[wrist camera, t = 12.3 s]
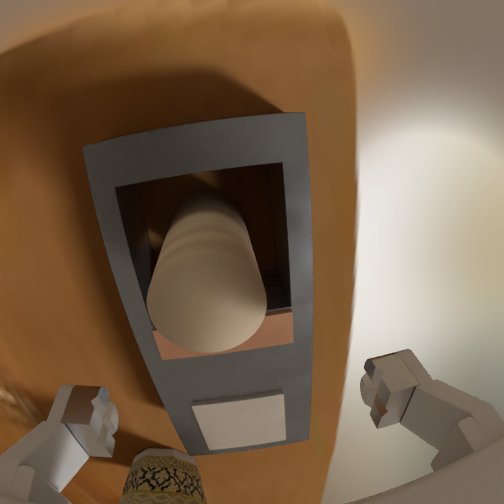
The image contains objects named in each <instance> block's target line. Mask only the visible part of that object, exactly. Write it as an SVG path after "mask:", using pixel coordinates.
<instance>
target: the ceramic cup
mask: <svg viewBox="0 0 504 504" xmlns="http://www.w3.org/2000/svg"><path fill="white" fill-rule="evenodd" d="M118 504H207V503H206V499H205V495H204V491H203V487H202V483H201V478H200V475H199V470H198V467H197V464H196V461H195V459H194V457H193V456H189V455H188V454H186V453H183V452H181V451H178V450H176V449H157V448H148V449H146V450H145V451H143V452H141V453H140V454H138V455H136V457H134V460H133V462H132V465H131V468H130V471H129V474H128V477H127V480H126V483H125V486H124V489H123V492H122V496H121V499H120V501H119V503H118Z"/></svg>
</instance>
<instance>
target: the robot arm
mask: <svg viewBox="0 0 504 504" xmlns="http://www.w3.org/2000/svg"><path fill="white" fill-rule="evenodd" d="M364 369H365V371H366V373H365V375H363V377H362V378H361V383H360V389H361V395H362V399H363V401H364V403H365V404H366V405H368V406H369V407H371V408H372V409H371V412H370V415H371V417H372V419H373V422H374V424H375V426H376V428H377V429H378V428H382V427H386V426H389V425H393V424H396V423H399V422H400V424H401V425H403V426H404V427H406V428H407V429H409V430H410V431H411V432H413V433H414V434H416V435H417V436H419V437H420V438H421V439H423V440H424V441H426V442H427V443H429V444H430V445H432V446H433V447H435V448H436V449H438V450H439V452H438V454H437V455H436V456H435V458H434V459H433V460H432V462H431V466H432V468H433V470H434V472H432V473H430V474H428V475H426V476H423V477H421V478H419V479H416V480H414V481H411V482H409V483H406V484H404V485H401V486H398V487H396V488H393V489H390V490H388V491H385V492H382V493H379V494H376V495H373V496H370V497H367V498H363V499H360V500H357V501H354V502H350V503H346V504H504V421H503V420H502V418H501V417H500V415H499V414H498V413H497V411H496V410H495V409H494V407H493V406H492V405H491V404H490V403H487V402H485V401H483V400H480V399H478V398H476V397H474V396H472V395H470V394H467V393H465V392H463V391H460V390H459V389H456V388H454V387H452V386H450V385H448V384H446V383H443V382H441V381H439V380H432V378H431V377H430V375H429V374H428V372H427V371H426V370H425V368H424V367H423V366H422V364H421V363H420V362H419V360H418V359H417V357H416V356H415V355H414V353H413V352H412V351H411V350H409V349H406V350H402V351H398V352H395V353H390V354H387V355H383V356H378V357H374V358H370V359H367V361H366V362H365V365H364ZM108 397H109V393H108V391H107V389H106V388H105V387H100V386H83V385H66V384H63V385H62V386H60V388H59V390H58V393H57V395H56V398H55V400H54V403H53V405H52V408H51V410H50V413H49V416H48V418H47V421H42V422H41V423H40V424H38V425H37V426H36V427H35V428H34V429H32V430H31V431H30V432H29V433H27V434H26V435H25V436H24V437H23V438H21V439H20V440H19V441H18V442H17V443H15V444H14V445H13V446H12V447H10V448H9V449H8V450H7V451H6V452H4V453H3V454H2V455H1V456H0V504H71V502H70V501H69V500H68V499H67V498H65V497H64V496H63V495H62V494H61V493H60V492H61V491H62V490H63V488H64V487H65V486H66V485H67V484H68V482H69V481H70V480H71V479H72V478H73V476H74V475H75V474H76V473H77V472H78V470H79V469H80V468H81V467H82V466H83V464H84V463H85V462H86V461H87V459H88V458H89V456H97V457H112V456H113V451H114V445H115V440H114V438H113V437H112V435H113V434H114V433H115V432H116V431H117V429H118V413H117V409H116V407H115V405H114V403H113V402H111V401H110V400H108Z"/></svg>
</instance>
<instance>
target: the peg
mask: <svg viewBox="0 0 504 504" xmlns="http://www.w3.org/2000/svg"><path fill="white" fill-rule="evenodd" d="M266 308H267V297H266V292H265V288H264V285H263V282H262V278H261V275H260V272H259V268H258V265H257V262H256V258H255V255H254V252H253V248H252V245H251V242H250V238H249V235H248V231H247V228H246V225H245V221H244V218H243V215H242V212H241V210H240V208H239V206H238V205H237V204H236V203H235V202H234V201H233V200H232V199H231V198H230V197H228V196H227V195H225V194H223V193H220V192H217V191H199V192H196V193H193V194H191V195H189V196H188V197H186V198H185V199H184V200H183V201H182V202H181V203H180V204H179V205H178V206H177V208H176V210H175V212H174V215H173V217H172V220H171V223H170V226H169V229H168V231H167V234H166V237H165V240H164V243H163V246H162V249H161V252H160V255H159V258H158V261H157V264H156V267H155V270H154V273H153V276H152V280H151V283H150V286H149V289H148V294H147V309H148V313H149V317H150V319H151V321H152V323H153V325H154V326H155V328H156V329H157V330H158V331H159V333H160V334H161V335H162V336H164V337H165V338H166V339H167V340H169V341H170V342H171V343H173V344H175V345H177V346H179V347H181V348H184V349H187V350H190V351H195V352H204V353H208V352H220V351H224V350H228V349H231V348H234V347H236V346H238V345H240V344H242V343H243V342H245V341H246V340H247V339H249V338H250V337H251V336H252V335H253V334H254V333H255V332H256V331H257V330H258V328H259V327H260V325H261V323H262V322H263V319H264V317H265V313H266Z"/></svg>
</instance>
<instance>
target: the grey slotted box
mask: <svg viewBox="0 0 504 504" xmlns="http://www.w3.org/2000/svg"><path fill="white" fill-rule="evenodd" d="M82 148H83V154H84V159H85V164H86V169H87V174H88V179H89V184H90V189H91V193H92V197H93V202H94V206H95V210H96V214H97V218H98V222H99V226H100V230H101V234H102V237H103V241H104V245H105V248H106V252H107V255H108V259H109V262H110V265H111V269H112V272H113V275H114V278H115V281H116V285H117V288H118V291H119V294H120V297H121V300H122V303H123V306H124V308H125V311H126V314H127V317H128V320H129V322H130V325H131V328H132V331H133V333H134V336H135V338H136V341H137V344H138V346H139V349H140V351H141V354H142V356H143V359H144V361H145V364H146V366H147V368H148V371H149V373H150V375H151V378H152V380H153V382H154V385H155V387H156V389H157V391H158V394H159V396H160V398H161V400H162V402H163V404H164V407H165V409H166V411H167V413H168V415H169V417H170V419H171V421H172V423H173V425H174V427H175V429H176V431H177V433H178V435H179V437H180V439H181V441H182V443H183V445H184V447H185V449H186V450H187V452H188V454H189V456H195V455H209V454H220V453H230V452H239V451H247V450H254V449H261V448H267V447H273V446H279V445H285V444H290V443H295V442H300V441H305V440H309V431H310V412H311V389H312V356H313V254H312V220H311V196H310V176H309V159H308V144H307V130H306V118H305V112H280V113H267V114H256V115H246V116H237V117H228V118H220V119H212V120H205V121H198V122H192V123H185V124H179V125H173V126H168V127H162V128H157V129H152V130H147V131H142V132H137V133H132V134H128V135H123V136H119V137H114V138H110V139H107V140H103V141H100V142H96V143H93V144H90V145H86V146H83V147H82ZM259 164H268V170H269V181H270V192H271V204H272V216H273V228H274V240H275V253H276V267H277V269H276V270H269V271H262V272H260V275H261V278H262V282H263V285H264V288H265V292H266V297H267V308H266V313H265V317H264V319H263V322H262V323H261V325H260V327H259V328H258V330H257V331H256V332H255V333H254V334H253V335H252V336H251V337H250V338H249V339H247V340H246V341H245V342H243V343H242V344H240V345H238V346H236V347H234V348H231V349H228V350H224V351H220V352H208V353H204V352H195V351H190V350H187V349H184V348H181V347H179V346H177V345H175V344H173V343H171V342H170V341H169V340H167V339H166V338H165V337H164V336H162V335H161V334H160V333H159V331H158V330H157V329H156V328H155V326H154V325H153V323H152V321H151V319H150V317H149V313H148V309H147V294H148V289H149V286H150V283H151V280H152V276H153V273H154V270H155V267H156V264H155V260H154V255H153V251H152V247H151V243H150V239H149V234H148V230H147V225H146V221H145V216H144V211H143V206H142V202H141V197H140V192H139V186H138V183H139V182H145V181H150V180H156V179H161V178H167V177H173V176H179V175H185V174H192V173H198V172H205V171H212V170H219V169H227V168H234V167H242V166H251V165H259Z"/></svg>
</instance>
